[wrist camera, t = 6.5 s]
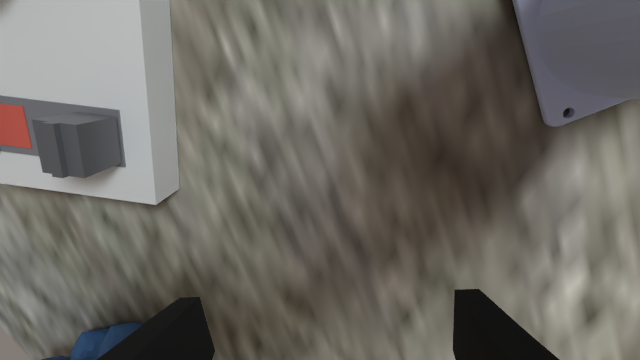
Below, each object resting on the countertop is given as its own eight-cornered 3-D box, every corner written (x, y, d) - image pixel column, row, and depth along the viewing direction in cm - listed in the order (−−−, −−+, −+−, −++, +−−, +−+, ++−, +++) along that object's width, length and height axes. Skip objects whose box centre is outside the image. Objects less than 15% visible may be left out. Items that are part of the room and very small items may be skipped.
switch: (77, 112, 16) (24, 120, 13) (116, 116, 16) (69, 126, 13) (84, 158, 17) (36, 174, 14) (121, 163, 16) (79, 180, 14)
